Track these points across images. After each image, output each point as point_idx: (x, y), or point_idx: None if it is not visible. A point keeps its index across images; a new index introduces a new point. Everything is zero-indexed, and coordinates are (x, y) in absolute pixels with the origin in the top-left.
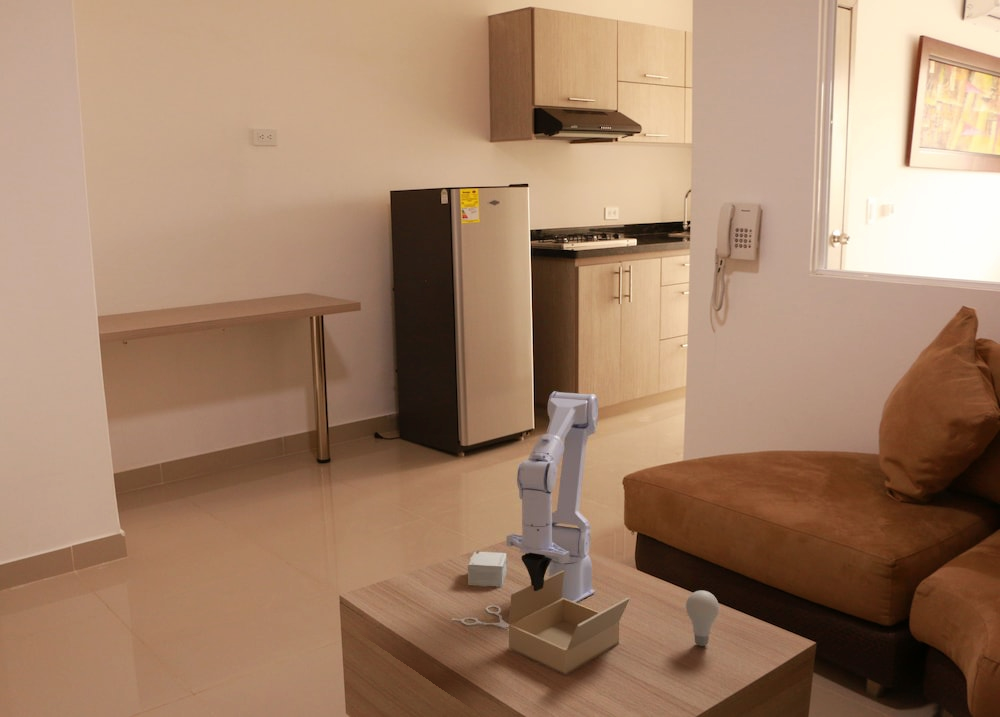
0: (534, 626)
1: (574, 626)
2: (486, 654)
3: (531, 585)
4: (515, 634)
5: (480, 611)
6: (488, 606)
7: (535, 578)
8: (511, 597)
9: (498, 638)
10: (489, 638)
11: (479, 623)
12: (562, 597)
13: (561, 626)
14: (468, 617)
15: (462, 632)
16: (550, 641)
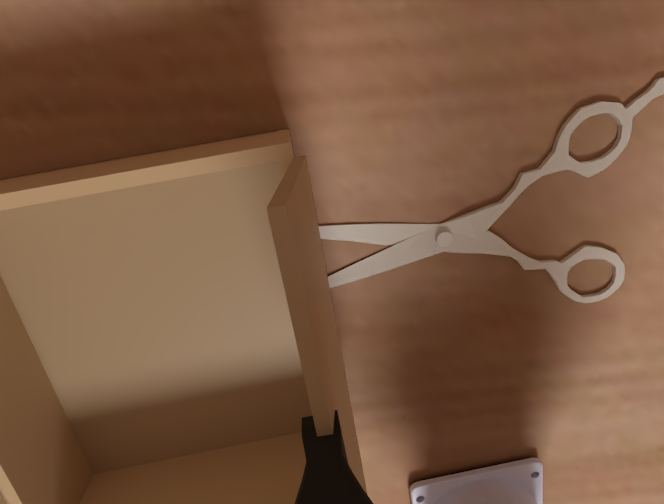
0: None
1: (271, 428)
2: (315, 13)
3: (329, 427)
4: (239, 147)
5: (622, 227)
6: (622, 273)
7: (299, 498)
8: (281, 201)
9: (397, 152)
10: (423, 119)
11: (548, 159)
12: (452, 501)
13: (299, 394)
14: (621, 151)
15: (549, 50)
16: (225, 299)
